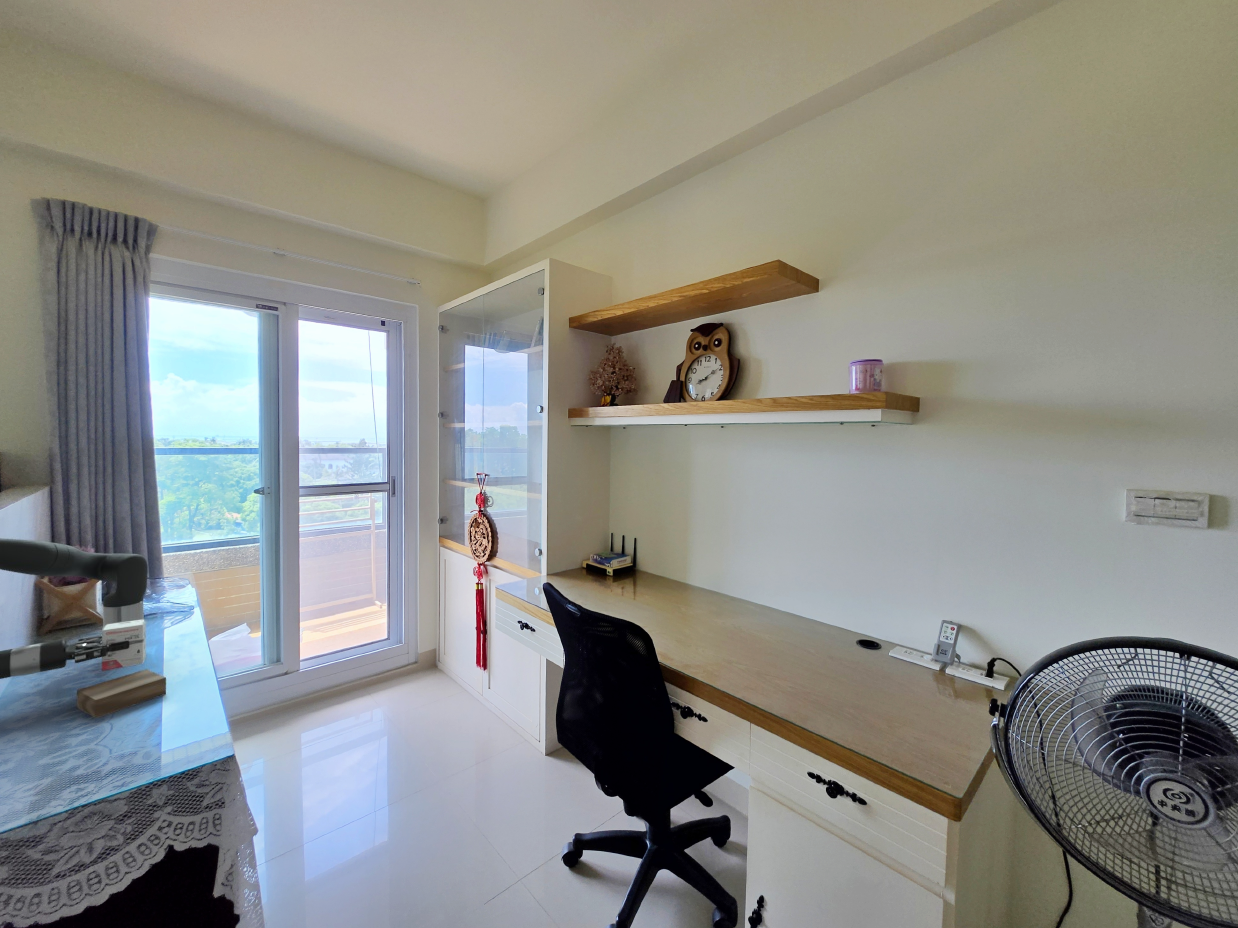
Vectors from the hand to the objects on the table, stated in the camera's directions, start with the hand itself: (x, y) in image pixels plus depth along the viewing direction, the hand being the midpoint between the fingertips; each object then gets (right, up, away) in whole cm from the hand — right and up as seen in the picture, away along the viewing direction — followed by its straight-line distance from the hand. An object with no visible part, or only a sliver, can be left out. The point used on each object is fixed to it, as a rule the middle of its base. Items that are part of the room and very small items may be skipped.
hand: (128, 641), depth 142 cm
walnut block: (+8, -13, -10) cm, 18 cm away
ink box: (-1, -7, 0) cm, 7 cm away
